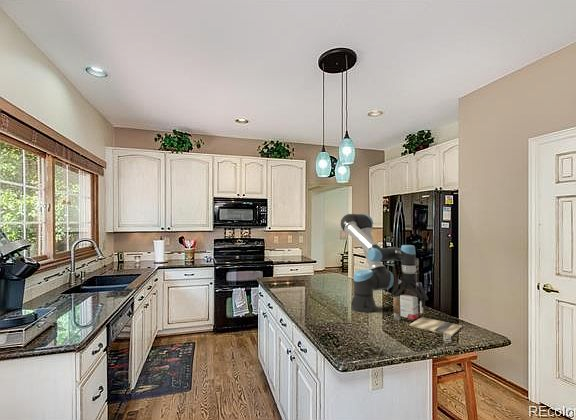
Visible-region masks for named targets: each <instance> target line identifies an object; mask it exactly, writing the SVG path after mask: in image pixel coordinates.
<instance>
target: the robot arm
mask: <svg viewBox="0 0 576 420" xmlns="http://www.w3.org/2000/svg"><path fill="white" fill-rule="evenodd" d="M373 224H374V221H373V219H372V217H371V216H370V215H368V214H365V213H347V214H345V215H344V216H343V217H342V218H341V219H340V227H341V229H342V231H343V232H344V233H345V234H347V235H349V236H350V237H351V238H352V239H353V240H354V241H355V242H356V243H357V244H359V245H360V246H361V247H362V250H363V253H364V257H365V260H366V262H367V264H368V267H369V269H359V270H356V271H355V272H354V273H353V278H352V279H353V297H352V299H351V300H352V301H351V303H350V308H351V309H352V310H353V311H355V312H361V313H373V312H376V311H377V304H376V301H375V298H374V291H386V290H389V289H390V288H392V287H393V285H394V280H395V279H394V274H393V272H391V270H387V266H385V265H384V264H383V263H382V262H386V261H387V262H389V261H390V262H391V261H400V262H401V280H400V279H396V280H395V281H396V282H395V285H394V287H393V288H392V291H391V293H390V295H391V296H393V297H399V298H400V295H401V293H402V292H403V291H404V289H405V290H413V292H414V294H416V297H418V299H420V301H419V314H423V313H424V308H425V307H426V302H427V301H428V300H429V297H428V296H427V293H426V291H425V288H424V286H423V282H417V274H416V272H417V271H416V270H417V268H416V266H417V264H416V263H417V262H416V254H417V253H416V247H415V245H412V244H402V245H401V247H394V246H390V247H381V246H380V245H378V244H377V243H376V242H375V241H374V237H373V235H372V231H373V227H374V225H373ZM400 284H401V287H400ZM399 287H400V288H399ZM417 287H418V288H417ZM398 288H399V289H398ZM419 290H420V291H419Z"/></svg>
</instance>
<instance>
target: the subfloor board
mask: <svg viewBox="0 0 576 420" xmlns="http://www.w3.org/2000/svg"><path fill="white" fill-rule="evenodd" d="M409 326H410V327H413V328H416V329H417V328H418V329H422V330H425V331H430V332H434V333H438V334H442V335H446V336H450V337H453V336H454V335H455V334H456V333H458V332H459V329H460V328H461V329H462V328H463V325H461V324H456V323H452V322H448V321H443V320H439V319H434V318H429V317H426V316H424V317H423V316H421V317H420V318H419V317H418V318H417V319H415V320H413V322H411V323H410V324H409ZM461 329H460V330H461Z"/></svg>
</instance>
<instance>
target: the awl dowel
mask: <svg viewBox="0 0 576 420" xmlns="http://www.w3.org/2000/svg"><path fill="white" fill-rule="evenodd" d="M392 299H393V320H394V321H400V320H401V319H400V318H401V311H400V296H399V297H394V296H393V298H392Z"/></svg>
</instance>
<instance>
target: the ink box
mask: <svg viewBox="0 0 576 420" xmlns="http://www.w3.org/2000/svg"><path fill="white" fill-rule="evenodd" d="M399 298H400V317H403V318H407V319H410V320H413V321H415V320H418V319H419V300H418V299H419V297H418V296H415V295H409V294H399Z"/></svg>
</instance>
